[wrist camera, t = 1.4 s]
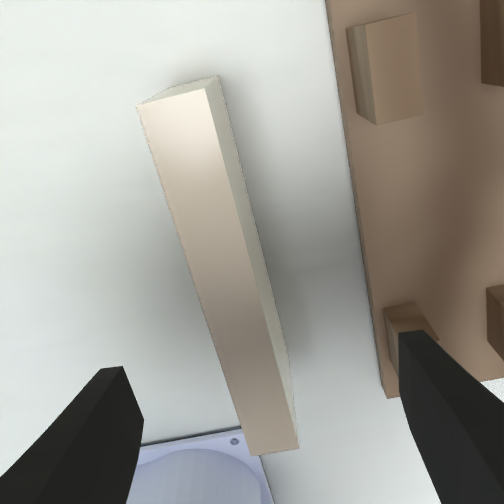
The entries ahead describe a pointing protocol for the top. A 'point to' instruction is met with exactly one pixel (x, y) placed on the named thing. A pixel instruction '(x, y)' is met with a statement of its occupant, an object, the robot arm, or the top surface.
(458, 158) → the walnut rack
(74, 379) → the top surface
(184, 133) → the clay strip
